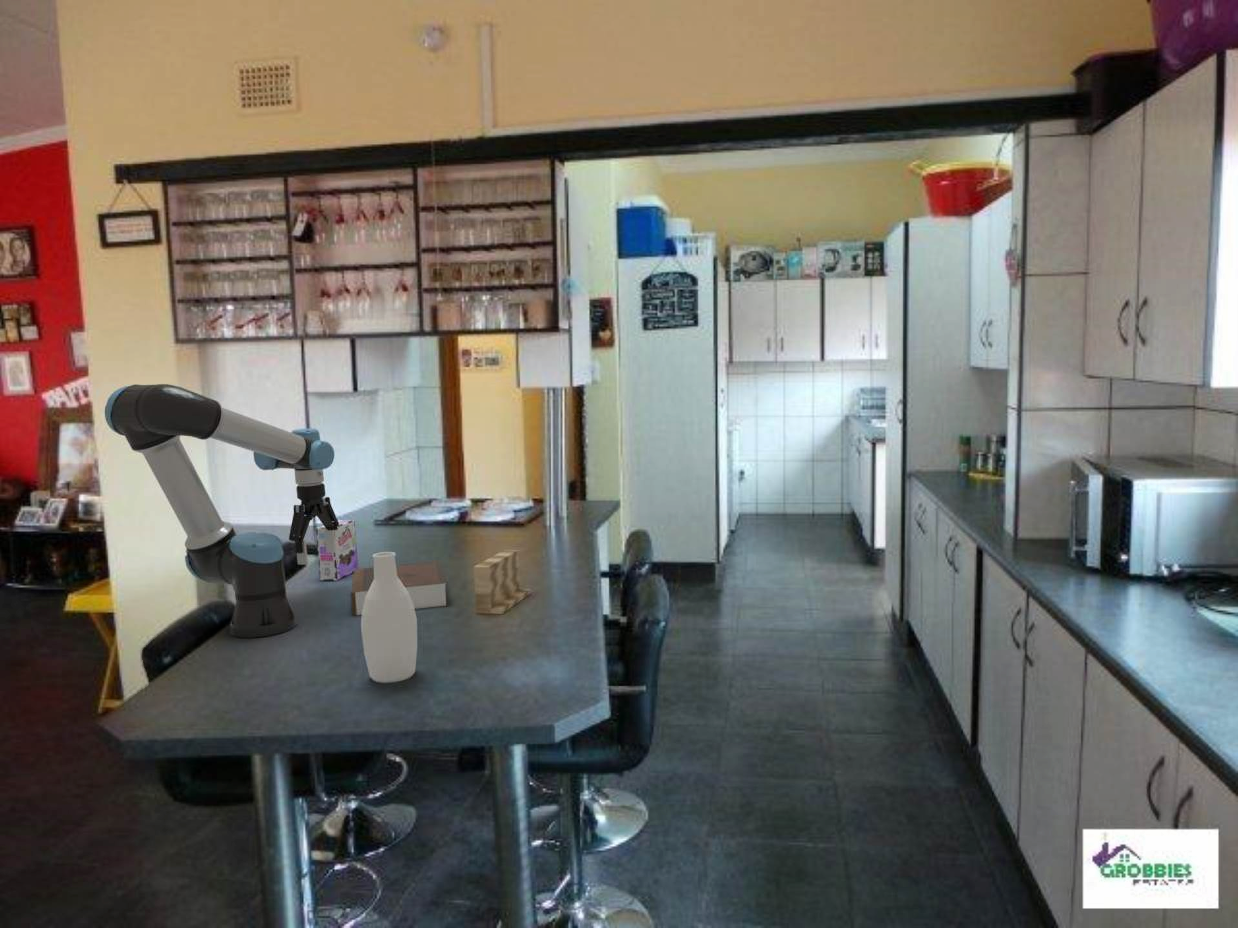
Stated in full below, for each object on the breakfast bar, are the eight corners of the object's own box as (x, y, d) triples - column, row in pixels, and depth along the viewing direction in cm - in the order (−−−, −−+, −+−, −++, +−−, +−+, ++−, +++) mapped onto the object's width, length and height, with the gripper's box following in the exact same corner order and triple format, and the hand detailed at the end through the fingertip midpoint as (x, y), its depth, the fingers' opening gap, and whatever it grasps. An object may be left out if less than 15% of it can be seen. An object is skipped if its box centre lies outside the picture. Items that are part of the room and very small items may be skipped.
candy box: (337, 581, 268) (332, 527, 266) (319, 581, 269) (314, 527, 267) (359, 570, 281) (355, 519, 279) (342, 570, 282) (338, 519, 280)
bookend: (501, 614, 225) (499, 567, 224) (475, 613, 227) (472, 566, 226) (530, 593, 244) (528, 550, 243) (506, 592, 246) (503, 549, 245)
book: (352, 617, 230) (350, 592, 229) (355, 591, 257) (354, 569, 256) (448, 607, 236) (447, 583, 235) (442, 582, 263) (440, 561, 262)
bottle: (425, 664, 189) (417, 547, 186) (414, 683, 178) (406, 558, 175) (372, 667, 189) (363, 549, 186) (358, 686, 178) (348, 561, 175)
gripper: (294, 491, 237) (302, 569, 239) (347, 477, 260) (353, 548, 263) (270, 491, 239) (278, 568, 241) (324, 477, 262) (331, 547, 265)
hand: (317, 558), depth 252 cm, fingers open, 13 cm apart
